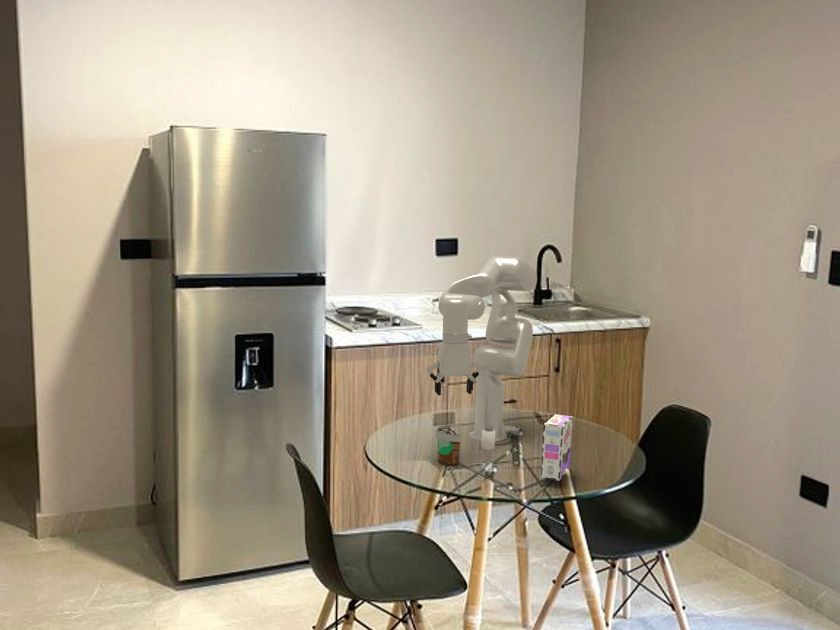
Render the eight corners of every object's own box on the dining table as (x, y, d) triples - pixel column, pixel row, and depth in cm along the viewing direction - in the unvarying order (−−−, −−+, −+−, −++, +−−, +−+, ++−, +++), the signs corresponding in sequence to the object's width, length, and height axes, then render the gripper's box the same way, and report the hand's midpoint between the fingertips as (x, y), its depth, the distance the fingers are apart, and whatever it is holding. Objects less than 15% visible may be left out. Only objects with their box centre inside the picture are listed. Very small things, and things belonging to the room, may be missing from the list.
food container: (429, 456, 267) (430, 425, 266) (448, 455, 269) (449, 424, 267) (440, 468, 255) (441, 435, 254) (459, 467, 257) (461, 435, 255)
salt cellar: (492, 446, 281) (493, 424, 280) (496, 450, 276) (497, 428, 276) (479, 446, 280) (480, 425, 279) (483, 450, 275) (484, 428, 275)
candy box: (559, 481, 247) (562, 425, 244) (540, 478, 249) (542, 423, 247) (570, 468, 259) (573, 415, 257) (551, 465, 261) (554, 413, 259)
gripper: (478, 335, 264) (477, 389, 266) (424, 337, 259) (423, 392, 262) (486, 340, 256) (484, 395, 259) (430, 341, 252) (429, 398, 255)
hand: (453, 393), depth 261 cm, fingers open, 9 cm apart
